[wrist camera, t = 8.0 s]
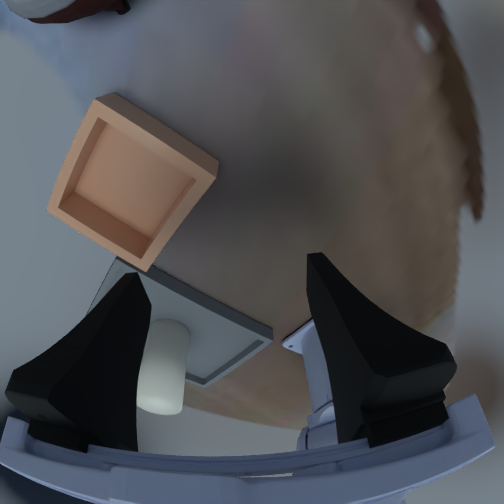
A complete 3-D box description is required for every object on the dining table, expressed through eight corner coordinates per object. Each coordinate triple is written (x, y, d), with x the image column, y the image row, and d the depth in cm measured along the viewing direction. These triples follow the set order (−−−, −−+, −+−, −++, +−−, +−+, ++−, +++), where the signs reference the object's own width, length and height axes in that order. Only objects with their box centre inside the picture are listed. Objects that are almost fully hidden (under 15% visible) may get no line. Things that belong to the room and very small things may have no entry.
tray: (272, 329, 29) (273, 341, 27) (205, 378, 34) (205, 388, 33) (121, 247, 22) (115, 258, 21) (83, 321, 27) (78, 332, 26)
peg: (197, 331, 27) (191, 406, 21) (176, 349, 29) (168, 418, 23) (161, 312, 26) (145, 389, 19) (143, 332, 28) (127, 403, 21)
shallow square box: (219, 161, 19) (216, 177, 16) (154, 247, 22) (146, 272, 20) (113, 92, 15) (94, 98, 13) (65, 191, 19) (46, 210, 17)
